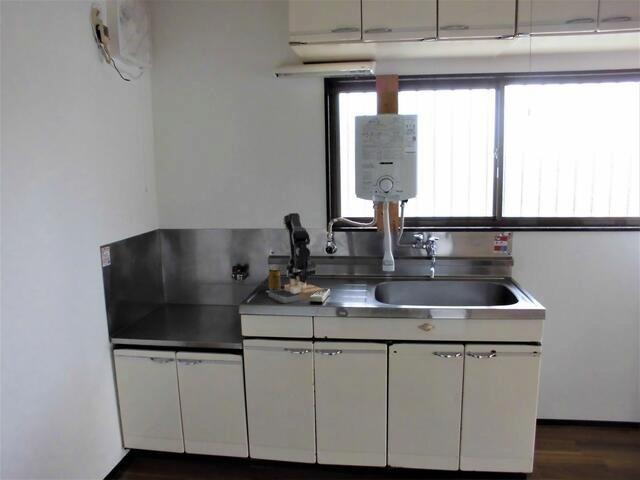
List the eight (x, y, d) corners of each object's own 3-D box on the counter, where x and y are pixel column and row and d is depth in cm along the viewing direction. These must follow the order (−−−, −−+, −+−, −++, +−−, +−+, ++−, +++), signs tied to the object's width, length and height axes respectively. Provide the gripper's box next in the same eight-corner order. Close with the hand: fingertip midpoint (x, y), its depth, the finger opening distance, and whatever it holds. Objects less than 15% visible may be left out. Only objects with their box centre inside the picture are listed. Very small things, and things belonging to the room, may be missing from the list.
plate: (285, 294, 231) (285, 288, 230) (309, 289, 238) (309, 284, 238) (299, 300, 219) (299, 294, 218) (324, 295, 227) (324, 289, 226)
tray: (268, 296, 227) (268, 291, 226) (284, 293, 231) (284, 288, 231) (284, 303, 213) (283, 298, 213) (300, 300, 218) (300, 295, 218)
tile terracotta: (284, 289, 227) (284, 285, 227) (291, 288, 229) (291, 283, 229) (288, 291, 224) (288, 286, 223) (295, 289, 226) (295, 285, 226)
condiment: (276, 289, 241) (276, 267, 239) (286, 292, 234) (285, 269, 233) (265, 291, 236) (264, 269, 235) (274, 294, 230) (273, 271, 228)
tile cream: (290, 292, 223) (289, 287, 222) (297, 290, 225) (296, 285, 225) (294, 293, 219) (293, 288, 219) (301, 292, 222) (300, 287, 221)
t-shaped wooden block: (290, 286, 230) (289, 275, 229) (298, 284, 233) (297, 273, 232) (302, 291, 220) (301, 279, 219) (311, 289, 223) (310, 277, 222)
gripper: (324, 256, 221) (325, 287, 224) (304, 251, 237) (305, 280, 239) (305, 258, 215) (305, 290, 217) (285, 253, 231) (286, 283, 233)
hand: (301, 286), depth 227 cm, fingers closed on t-shaped wooden block, 3 cm apart
